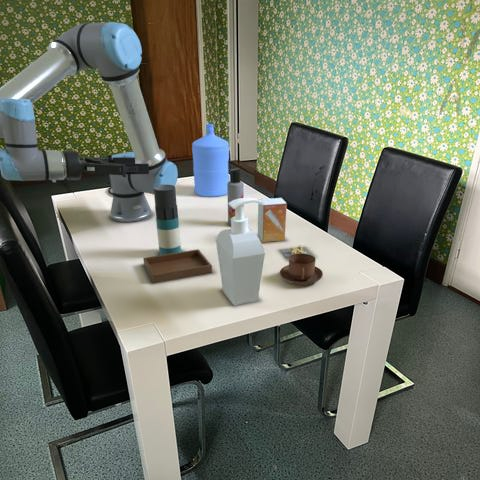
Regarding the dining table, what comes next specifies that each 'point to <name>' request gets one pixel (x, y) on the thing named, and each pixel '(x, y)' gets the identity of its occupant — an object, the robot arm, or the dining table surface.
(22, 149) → the robot arm
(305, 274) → the cup and saucer
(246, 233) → the soap bottle
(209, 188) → the water jug
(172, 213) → the cap
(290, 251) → the dice set
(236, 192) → the lotion bottle
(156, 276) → the tray
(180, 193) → the dining table surface
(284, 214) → the small box
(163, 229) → the capped bottle
